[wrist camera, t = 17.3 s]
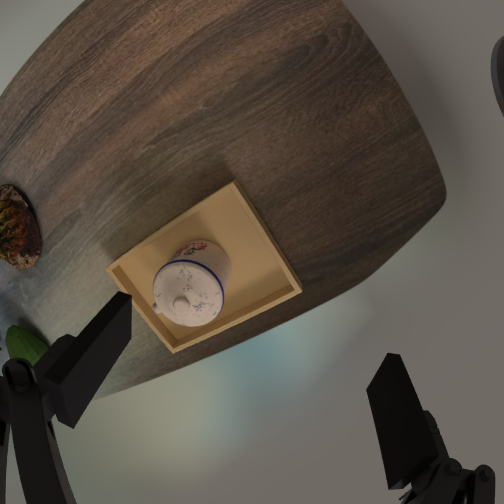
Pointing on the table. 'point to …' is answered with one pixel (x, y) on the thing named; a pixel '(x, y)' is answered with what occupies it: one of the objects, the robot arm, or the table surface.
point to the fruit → (24, 344)
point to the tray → (240, 256)
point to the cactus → (17, 230)
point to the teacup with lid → (192, 284)
